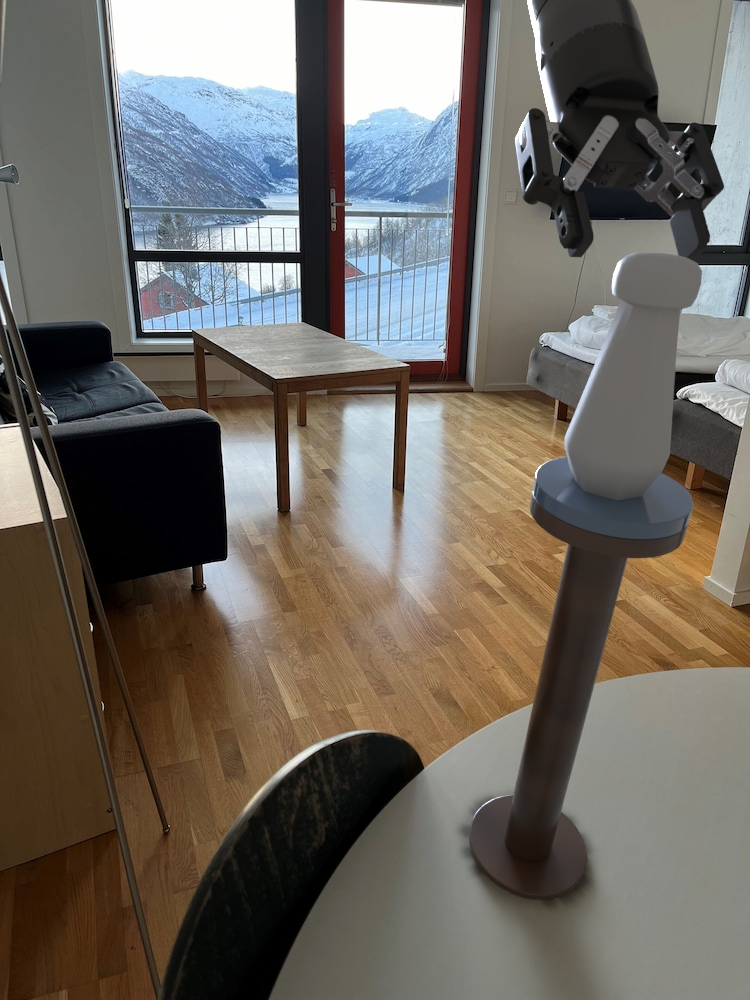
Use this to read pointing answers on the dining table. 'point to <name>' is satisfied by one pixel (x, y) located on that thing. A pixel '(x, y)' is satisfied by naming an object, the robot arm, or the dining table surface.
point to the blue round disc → (613, 505)
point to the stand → (558, 719)
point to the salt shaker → (633, 379)
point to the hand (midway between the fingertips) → (639, 252)
